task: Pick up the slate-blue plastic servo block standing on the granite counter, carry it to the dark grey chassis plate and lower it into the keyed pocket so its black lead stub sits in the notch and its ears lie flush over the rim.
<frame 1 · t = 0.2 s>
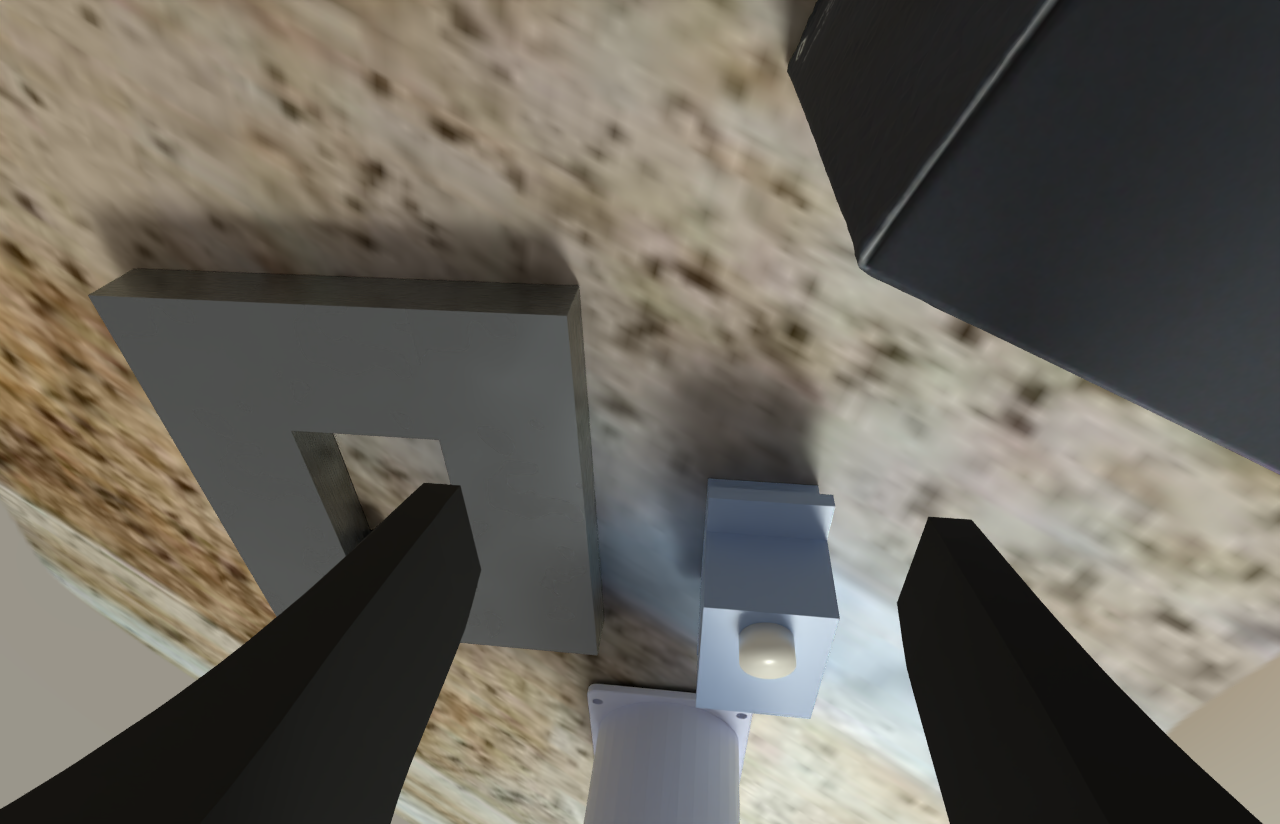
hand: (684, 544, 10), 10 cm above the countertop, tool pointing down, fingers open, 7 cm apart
small box: (1054, 49, 14), on the countertop
chassis: (410, 474, 24), on the countertop
servo: (755, 535, 24), on the countertop
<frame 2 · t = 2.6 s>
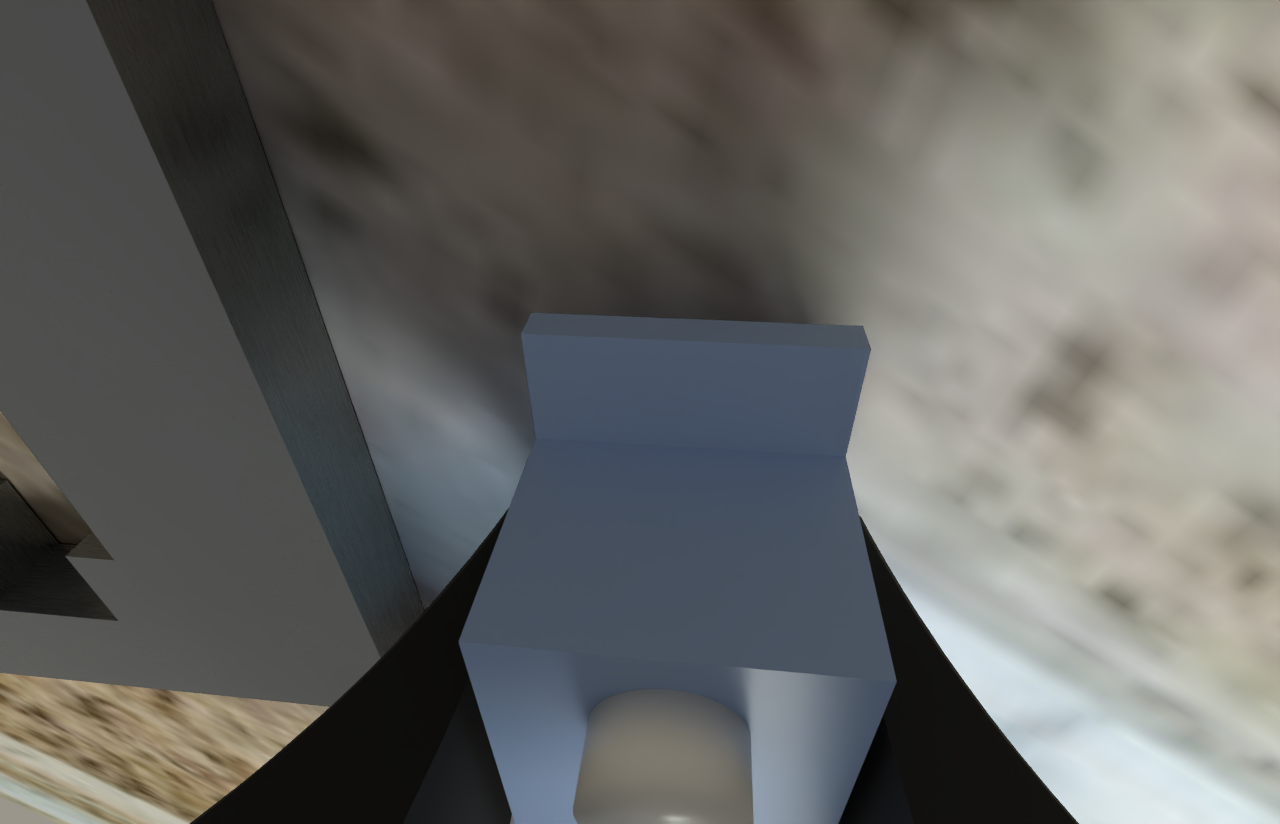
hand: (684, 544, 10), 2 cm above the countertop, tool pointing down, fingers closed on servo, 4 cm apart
servo: (689, 476, 11), on the countertop, touching gripper
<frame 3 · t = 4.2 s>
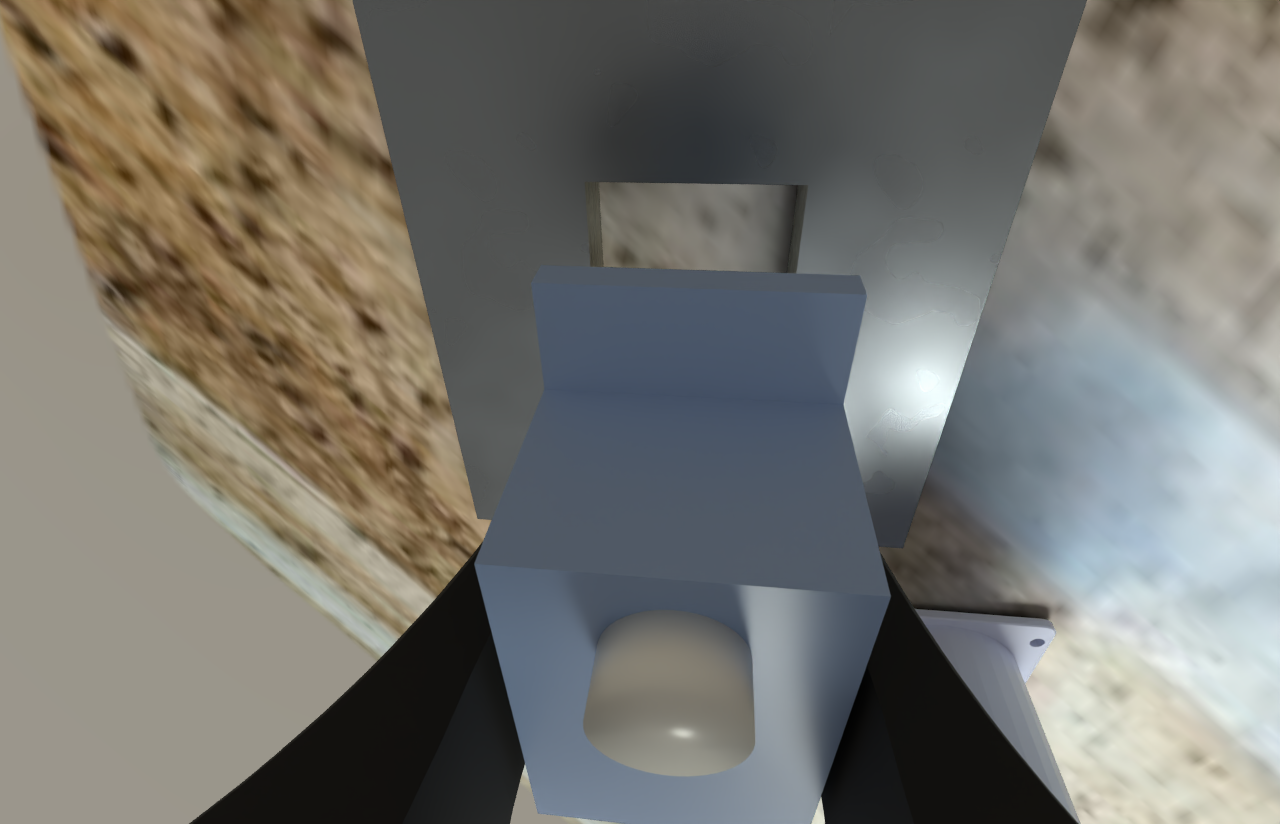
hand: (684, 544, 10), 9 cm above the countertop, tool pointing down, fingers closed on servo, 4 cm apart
chassis: (693, 285, 18), on the countertop
servo: (691, 440, 12), point 7 cm above the countertop, touching gripper
when the fingers open (3 cm above the countertop, at t = 6.3 s): servo stays where it is, resting in chassis.
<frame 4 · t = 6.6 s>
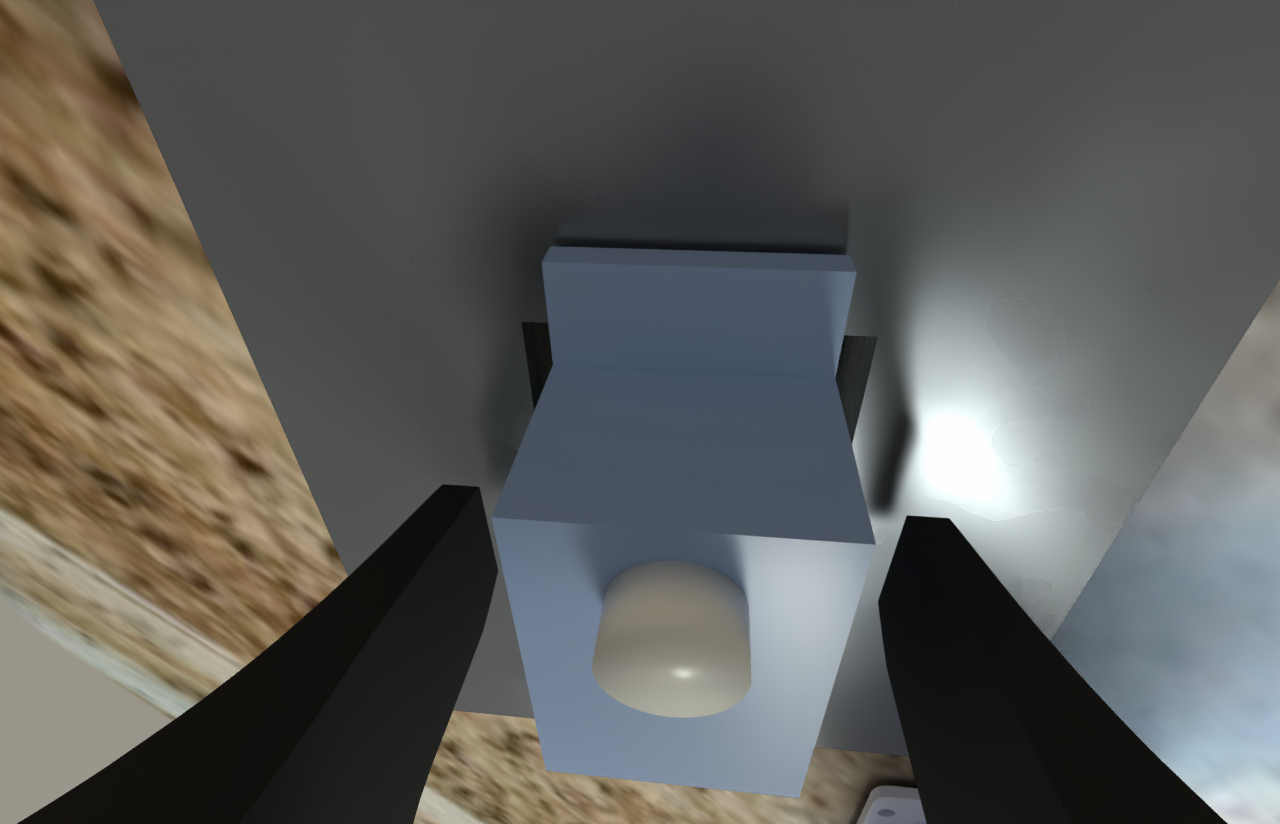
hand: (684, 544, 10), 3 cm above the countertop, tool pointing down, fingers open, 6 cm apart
chassis: (692, 434, 12), on the countertop
servo: (692, 420, 12), resting in chassis
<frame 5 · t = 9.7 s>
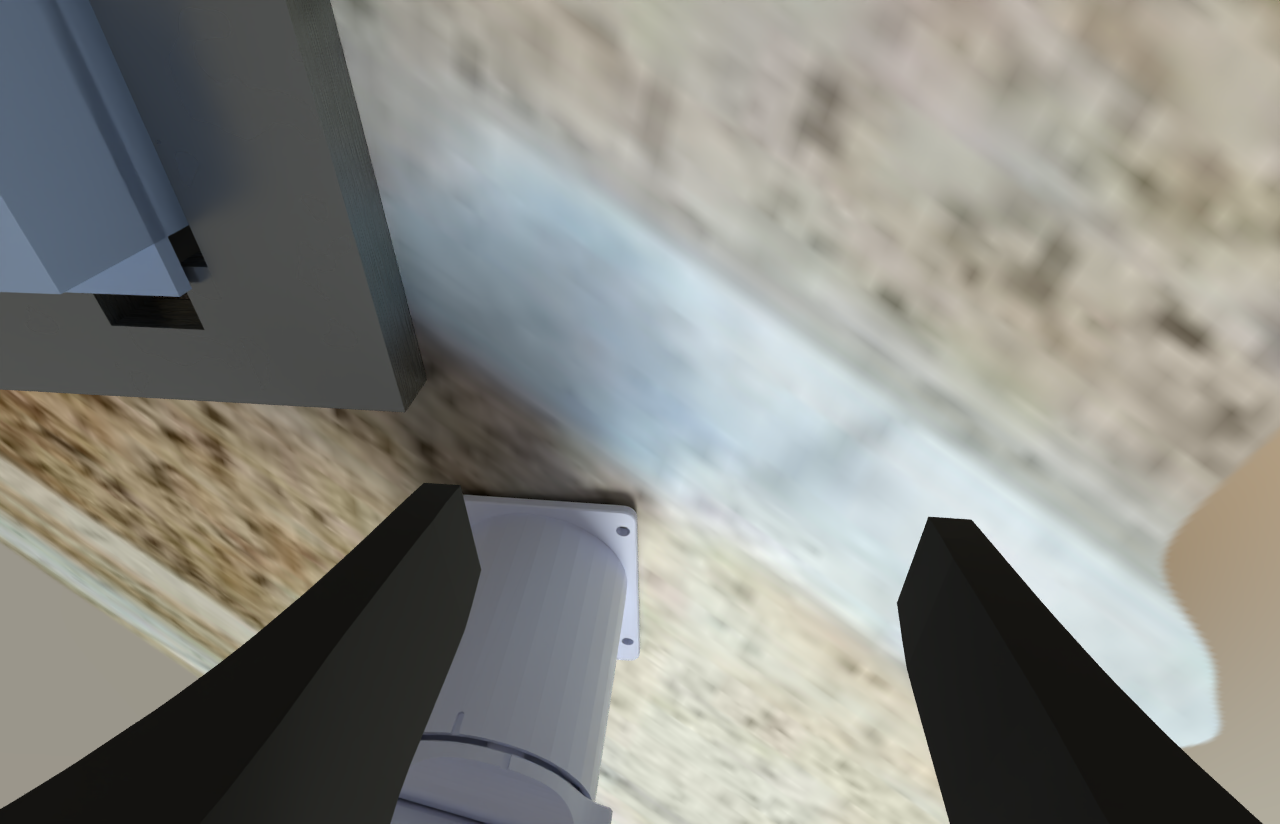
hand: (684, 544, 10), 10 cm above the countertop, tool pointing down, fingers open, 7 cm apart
chassis: (112, 119, 17), on the countertop
servo: (106, 106, 17), resting in chassis
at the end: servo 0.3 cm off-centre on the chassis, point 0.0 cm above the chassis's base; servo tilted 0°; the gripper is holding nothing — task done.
